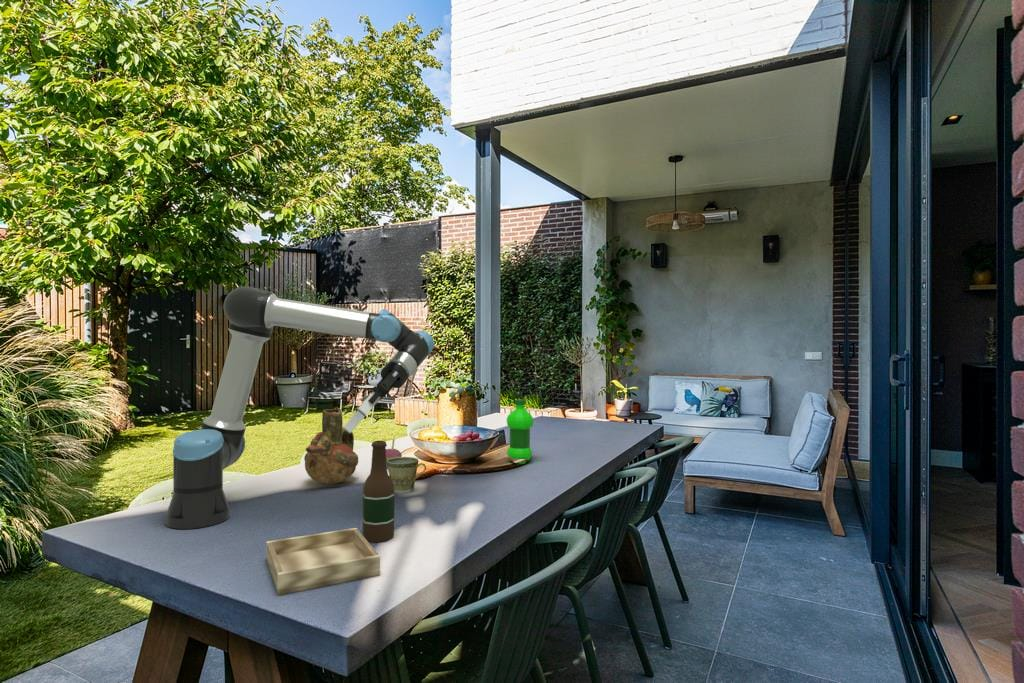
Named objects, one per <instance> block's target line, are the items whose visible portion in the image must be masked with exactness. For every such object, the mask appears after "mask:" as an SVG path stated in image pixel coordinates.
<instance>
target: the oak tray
mask: <svg viewBox="0 0 1024 683" xmlns="http://www.w3.org/2000/svg"><path fill="white" fill-rule="evenodd" d="M265 544H266V548H265V550H266V554H265V555H266V556H265V558H266V563H267V566H268V569H269V572H270V574H271V578H272V582H273V584H274V587H275V591H276V594H277V596H282V595H288V594H292V593H298V592H303V591H307V590H312V589H316V588H322V587H329V586H333V585H338V584H343V583H348V582H354V581H357V580H363V579H368V578H373V577H378V576H381V555H380V554H379V553H378V552H377V551H376V550H375V548H374V547H373V546H372V545H371V544H370V542H368V541H367V540H366V539H365V538H364V536H363V533H361V531H360V530H359V529H358V528H357V527H351V528H345V529H341V530H340V529H339V530H333V531H332V530H331V531H326V532H319V533H313V534H306V535H301V536H292V537H288V538H281V539H273V540H268V541H266V542H265Z"/></svg>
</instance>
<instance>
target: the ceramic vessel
mask: <svg viewBox="0 0 1024 683" xmlns="http://www.w3.org/2000/svg"><path fill="white" fill-rule="evenodd" d="M321 414H322V418H321V429H322V430H321V431H319V432H317V433H316V435H315V436H314V437H313V438H312V439H311V441H310V445H308V446H307V447H306V448H305V452H306V453H305V455H304V457H303V459H304V468H305V472H306V473H307V475H308V477H309V478H310V479H312V480H313V481H314V482H316V483H319V484H322V485H336V484H341V483H343V482H345V481H347V480H348V478H350V477H351V476H352V475H353V474H354V473H355V472H356V469H357V468H356V467H357V466H358V464H359V456H358V454H357V453H356V452H355V451H354V445H355V444H354V443H355V442H354V440H355V438H354V437H355V436H354V433H353V431H352V432H351V433H349V432H347V431H346V430H345V429H344V428H343V412H342V408H331V409H328V408H326V409H323V410H322V412H321Z"/></svg>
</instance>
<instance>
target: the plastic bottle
mask: <svg viewBox="0 0 1024 683" xmlns="http://www.w3.org/2000/svg"><path fill="white" fill-rule="evenodd" d="M526 403H527V402H526V399H519V398H518V399H514V406H515V409H513V410H512V411H511V412H510V413H509V414H508V415H507V418H506V425H507V427H508V428H509V447H508V449H507V450H506V453H507V454H506V455H507V457H508V456H509V457H511V458H514V459H527V460H528V461H530V460H531V458H532V456H533V455H532V454H533V451H532V448H531V445H530V444H531V441H530V440H531V434H530V433H531V429H532V427H533V424H534V417H533V415H531V413H529V411H528V410H526V409H525V405H526ZM524 464H527V462H521V463H519V464H518V465H524Z"/></svg>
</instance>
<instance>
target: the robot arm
mask: <svg viewBox="0 0 1024 683" xmlns="http://www.w3.org/2000/svg"><path fill="white" fill-rule="evenodd" d="M223 311H224V312H223V313H224V315H225V318H226V319H227V320H228V321H229V324H228V331H229V333H230V334H231V339H230V343H229V346H228V350H227V353H226V357H225V361H224V365H223V368H222V372H221V375H220V380H219V382H218V387H217V391H216V394H215V397H214V402H213V405H212V409H211V413H210V415H209V416H207V417H205V418H204V419H203V421H202V424H201V427H200V429H195V430H192V431H186V432H184V433H181V434H179V435H178V436H177V437H175V439H174V443H173V449H172V455H173V457H172V458H173V460H172V461H173V462H172V464H173V467H172V470H173V476H172V478H173V482H172V483H173V485H172V486H173V490H172V491H173V493H172V496H171V497H172V498H171V500H170V502H169V506H168V507H167V511H166V514H165V526H166V527H168V528H170V529H176V530H177V529H178V530H184V529H185V530H189V529H200V528H201V529H202V528H206V527H211V526H214V525H218V524H220V523H223V522H225V521H227V520H228V519H229V518H230V514H231V513H230V512H231V511H230V510H231V509H230V505H229V503H228V500H227V497H226V494H225V492H224V488H223V486H224V484H223V482H224V481H223V480H224V475H223V474H224V473H223V472H224V471H223V470H224V469H226V468H228V467H230V466H232V465H233V464H235V463H236V462H237V461H238V460H239V459H240V458H241V456H242V454H243V453H244V452H245V448H246V440H245V432H246V429H247V426H246V424H245V423H244V421H243V420H244V415H245V412H246V407H247V405H248V401H249V396H250V393H251V390H252V386H253V382H254V378H255V375H256V371H257V368H258V364H259V360H260V356H261V353H262V349H263V346H264V344H265V342H267V341H270V340H271V339H272V338H271V337H272V335H273V334H272V333H273V330H274V327H275V326H276V327H281V328H291V329H296V330H303V331H311V332H315V333H316V332H317V333H324V334H330V335H337V336H344V337H345V336H346V337H352V338H358V339H364V340H370V341H371V340H372V341H377V342H380V343H387V344H388V345H390V346H391V347H392V348H393V349H395V350H396V351H397V352H396V353H395V354H394V355H393V356H392V357H391V358H390V360H389V361H388V362H387V363H386V364H385V366H384V367H383V368H382V369H381V370H380V377H381V379H380V380H379V381H378V383H377V384H376V385H374V386H373V387H372V391H371V393H370V394H369V395H368V396H367V398H365V399H364V401H363V402H362V403H361V404H360V405H359V407H358V408H357V410H356V411H355V413H354V414H353V415H352V416H351V417H350V418H349V420H348V421H346V423H345V424H344V425H342V428H344V429H345V430H346V431H347V432H349V433H351V432H352V433H353V431H354V429H356V428H357V426H358V425H359V424H360V423H361V422H362V421H363V419H364V420H367V418H368V417H367V415H368V413H370V411H371V410H372V409H373V408H374V407H375V406H376V404H377V403H378V402H379V401H381V400H382V399H383V398H384V397H385V396H386V395H387V394H388V393H389V392H390V391H391V390H392V389H400V388H402V387H403V386H404V385H405V383H406V382H407V381H408V379H409V378H410V377H411V376H412V375H416V370H417V369H418V368H419V366H420V365H421V364H422V363H423V362H424V360H426V358H427V357H428V356H429V355H430V353H431V352H432V351H433V349H434V347H435V340H434V338H433V337H432V335H431V334H429V333H428V332H427V331H426V332H425V331H424V330H417V331H415V332H414V330H412V329H411V328H409V327H408V326H407V325H406V324H404V323H403V321H401V320H400V319H399V318H397V316H396V315H395V314H394V313H392V312H390V311H389V310H388V309H386V308H382V309H381V310H380V311H378V313H376V312H370V311H363V310H359V309H358V310H356V309H351V308H344V307H337V306H331V305H324V304H317V303H312V302H306V301H299V300H292V299H285V298H279V297H278V296H277V295H276V294H275V293H271V292H270V291H268V290H265V289H262V288H257V287H252V286H240V287H239V286H238V287H236V288H235V289H233V290H231V291H230V292H229V293H228V294H227V295H226V296H225V299H224V302H223Z"/></svg>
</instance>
